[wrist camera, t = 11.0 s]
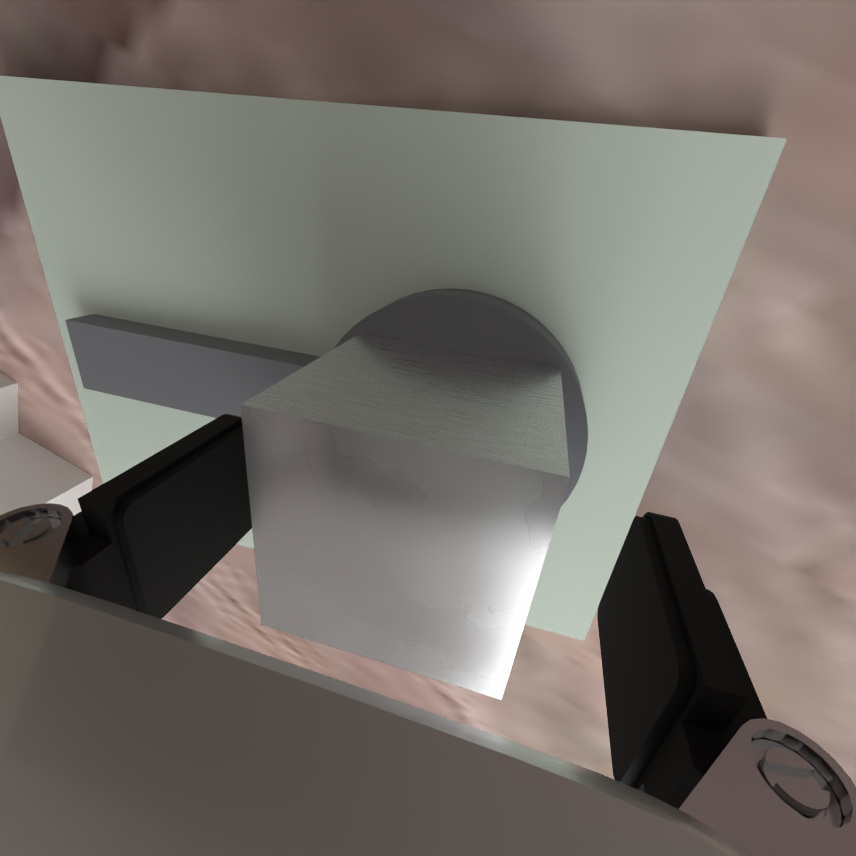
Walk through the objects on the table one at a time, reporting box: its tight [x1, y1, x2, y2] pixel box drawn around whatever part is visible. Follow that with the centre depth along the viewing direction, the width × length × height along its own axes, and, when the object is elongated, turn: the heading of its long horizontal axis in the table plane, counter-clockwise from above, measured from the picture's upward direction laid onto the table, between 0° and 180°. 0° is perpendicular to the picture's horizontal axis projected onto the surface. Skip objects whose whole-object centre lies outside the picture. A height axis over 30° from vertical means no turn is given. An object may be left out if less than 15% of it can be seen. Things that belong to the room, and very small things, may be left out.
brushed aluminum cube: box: [240, 332, 570, 700], centre depth 12 cm, size 6×6×6 cm
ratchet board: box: [0, 76, 787, 641], centre depth 15 cm, size 24×18×6 cm
